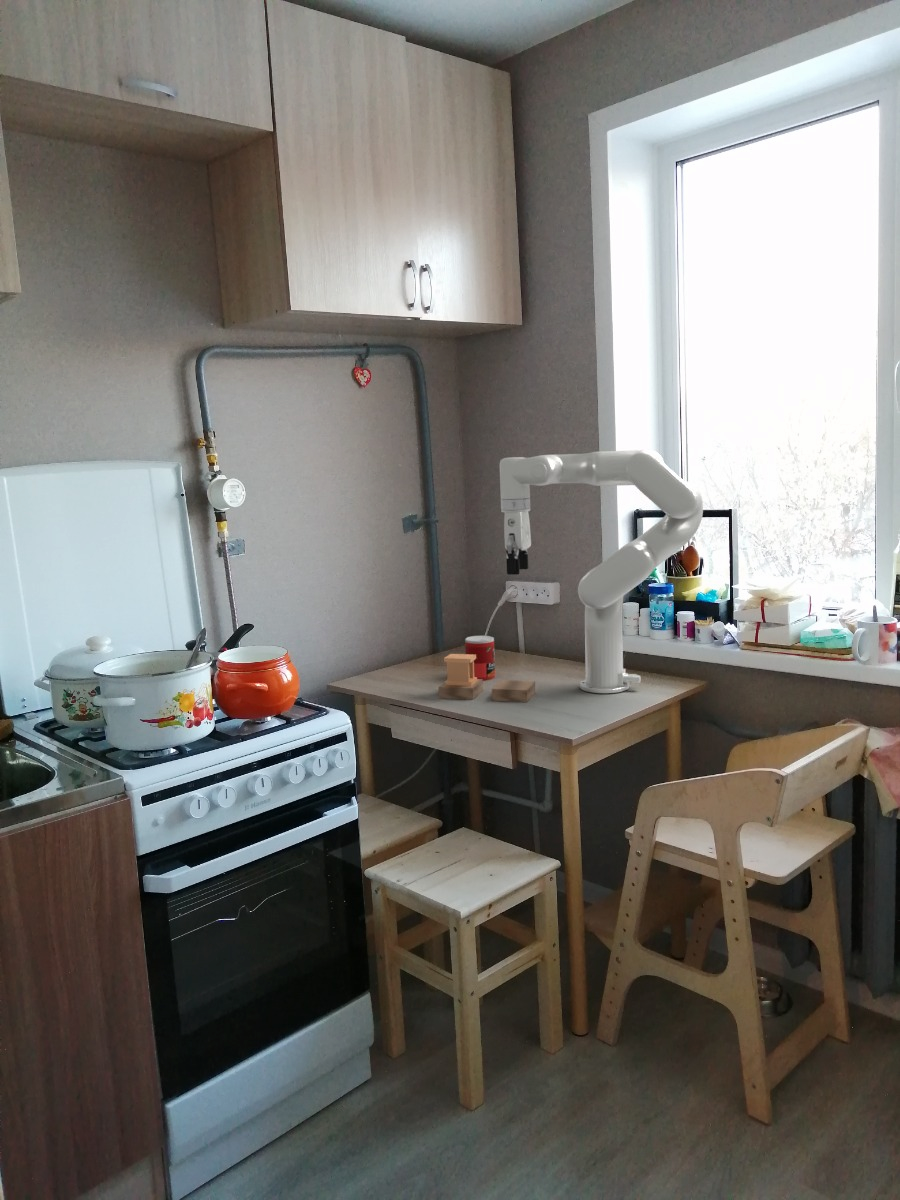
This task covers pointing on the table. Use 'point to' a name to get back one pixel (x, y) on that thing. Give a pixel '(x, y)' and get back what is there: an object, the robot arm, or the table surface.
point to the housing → (460, 669)
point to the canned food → (482, 655)
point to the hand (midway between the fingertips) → (517, 571)
